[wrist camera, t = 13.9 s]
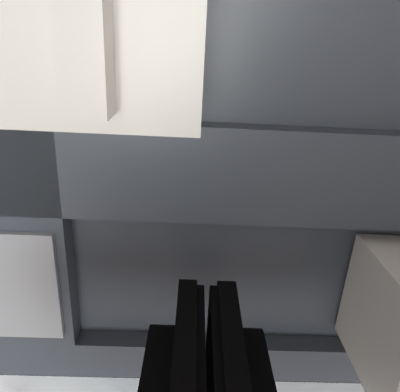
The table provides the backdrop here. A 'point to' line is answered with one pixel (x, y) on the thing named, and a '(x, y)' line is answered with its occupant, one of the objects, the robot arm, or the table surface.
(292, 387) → the table surface
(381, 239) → the tab
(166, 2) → the tab
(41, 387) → the table surface
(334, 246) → the switch board
